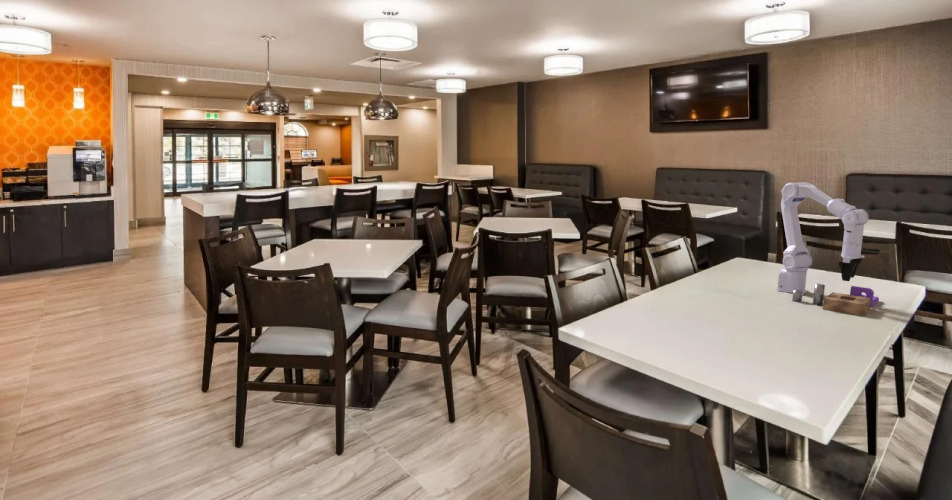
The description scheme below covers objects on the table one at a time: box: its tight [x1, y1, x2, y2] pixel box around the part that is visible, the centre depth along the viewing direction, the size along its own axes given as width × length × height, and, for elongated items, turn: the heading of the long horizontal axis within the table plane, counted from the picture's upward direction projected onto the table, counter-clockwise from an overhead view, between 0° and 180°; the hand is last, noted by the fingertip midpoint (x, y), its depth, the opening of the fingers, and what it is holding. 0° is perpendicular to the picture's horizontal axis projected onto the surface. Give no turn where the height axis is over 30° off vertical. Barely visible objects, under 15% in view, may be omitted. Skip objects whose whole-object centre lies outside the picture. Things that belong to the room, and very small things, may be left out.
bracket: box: [849, 285, 880, 308], centre depth 207 cm, size 12×7×7 cm, turn 133°
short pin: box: [791, 290, 804, 303], centre depth 210 cm, size 3×3×4 cm
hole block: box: [822, 292, 871, 317], centre depth 198 cm, size 12×12×4 cm
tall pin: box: [812, 283, 826, 307], centre depth 204 cm, size 3×3×8 cm
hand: (848, 279), depth 203 cm, fingers open, 7 cm apart
